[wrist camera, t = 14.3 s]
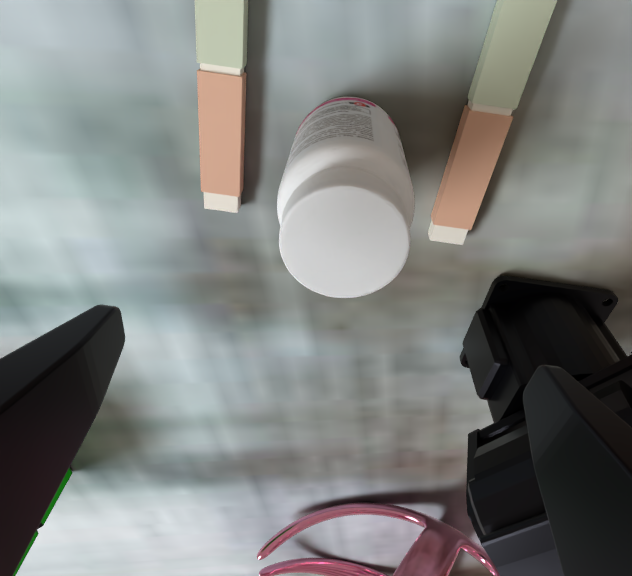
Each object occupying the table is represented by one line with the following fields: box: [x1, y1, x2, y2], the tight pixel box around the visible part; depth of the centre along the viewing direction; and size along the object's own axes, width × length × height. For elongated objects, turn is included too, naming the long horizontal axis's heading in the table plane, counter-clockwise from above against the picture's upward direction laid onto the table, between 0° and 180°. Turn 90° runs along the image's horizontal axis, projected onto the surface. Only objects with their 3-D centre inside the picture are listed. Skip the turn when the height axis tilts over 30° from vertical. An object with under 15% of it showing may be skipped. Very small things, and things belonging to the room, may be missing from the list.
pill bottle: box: [277, 97, 415, 298], centre depth 17 cm, size 5×5×8 cm
